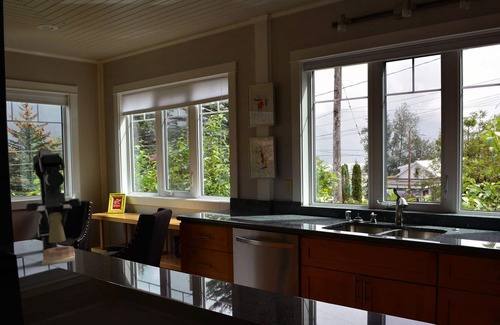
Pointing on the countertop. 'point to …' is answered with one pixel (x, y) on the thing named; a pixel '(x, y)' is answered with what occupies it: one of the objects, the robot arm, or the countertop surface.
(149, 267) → the countertop surface
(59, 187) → the robot arm
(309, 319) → the countertop surface
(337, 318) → the countertop surface
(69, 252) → the socket board
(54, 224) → the cork
